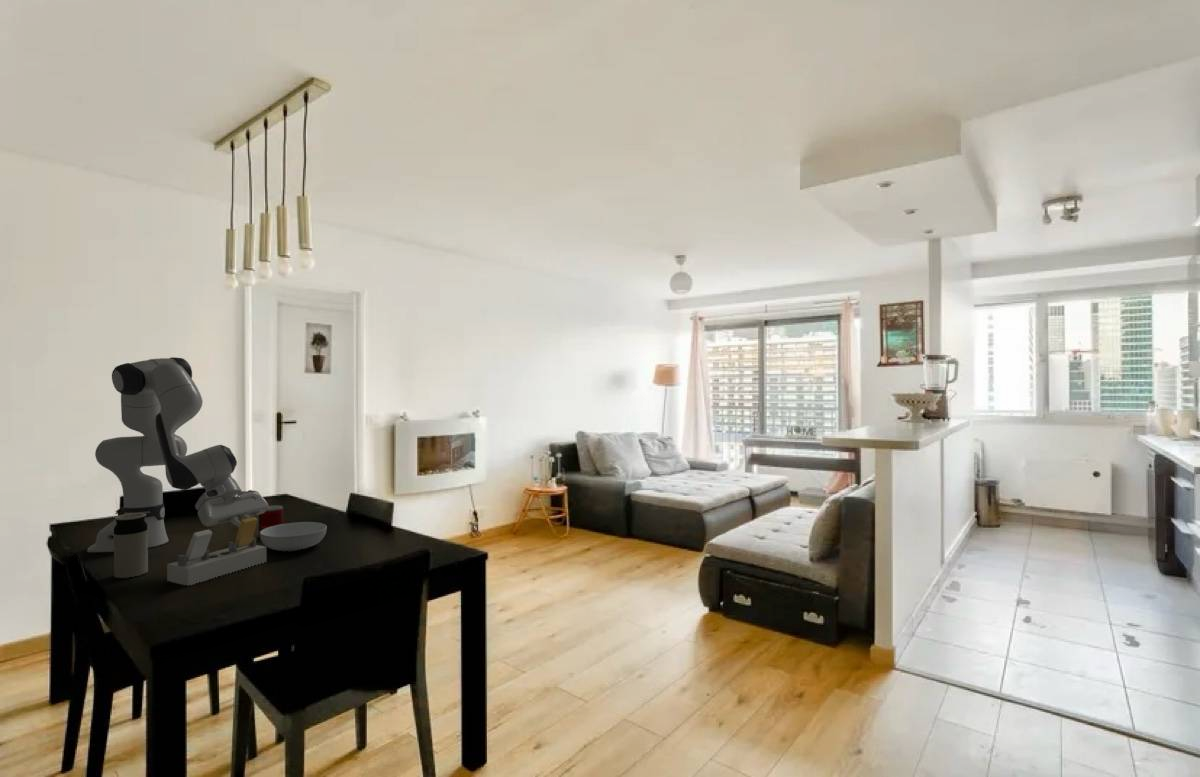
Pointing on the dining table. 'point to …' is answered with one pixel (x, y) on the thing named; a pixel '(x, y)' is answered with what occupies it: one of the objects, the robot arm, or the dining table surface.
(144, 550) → the travel mug
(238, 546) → the amber paddle
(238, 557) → the long paddle holder base
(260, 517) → the canned food
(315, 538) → the serving bowl
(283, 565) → the dining table surface
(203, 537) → the white paddle
